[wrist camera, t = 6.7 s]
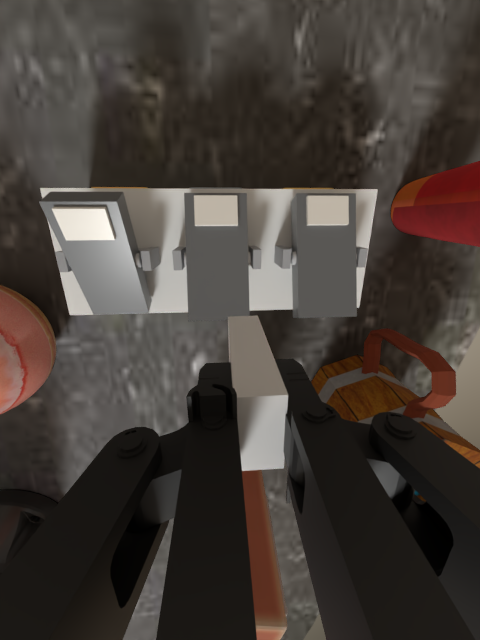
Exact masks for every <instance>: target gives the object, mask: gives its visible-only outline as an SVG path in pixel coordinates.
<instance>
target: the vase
mask: <svg viewBox="0 0 480 640" xmlns="http://www.w3.org/2000/svg"><path fill="white" fill-rule="evenodd" d="M56 350H57V348H56V339H55V335H54V331H53V329H52V327H51V324H50V322H49V321H48V319H47V318H46V316H45V315H44V314H43V312H42V311H41V310H40V309H39V308H38V307H37V306H36V305H35V304H34V303H33V302H32V301H30V300H29V299H27V298H26V297H25V296H23V295H21V294H20V293H18V292H16V291H14V290H12V289H10V288H7V287H5V286H2V285H0V414H3V413H5V412H7V411H8V410H10V409H12V408H14V407H16V406H18V405H19V404H21V403H23V402H24V401H25V400H27V399H28V398H29V397H30V396H32V395H33V394H34V393H35V392H36V391H37V390H38V389H39V388H40V387H41V386H42V385H43V384H44V382H45V381H46V380H47V378H48V376H49V375H50V373H51V371H52V369H53V366H54V363H55V359H56Z"/></svg>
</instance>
